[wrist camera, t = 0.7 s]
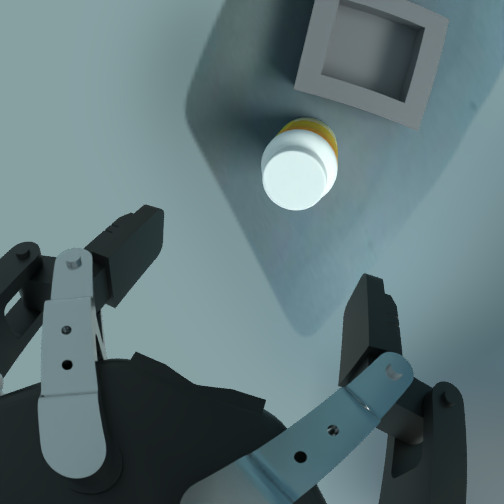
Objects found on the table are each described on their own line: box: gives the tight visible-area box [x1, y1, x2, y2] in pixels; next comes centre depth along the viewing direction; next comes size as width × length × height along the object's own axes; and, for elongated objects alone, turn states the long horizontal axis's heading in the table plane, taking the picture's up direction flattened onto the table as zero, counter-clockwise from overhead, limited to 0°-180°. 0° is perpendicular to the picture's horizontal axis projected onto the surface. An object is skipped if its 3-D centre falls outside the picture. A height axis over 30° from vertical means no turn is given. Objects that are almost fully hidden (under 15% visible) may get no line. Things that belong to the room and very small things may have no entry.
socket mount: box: [294, 0, 449, 131], centre depth 19 cm, size 10×10×4 cm
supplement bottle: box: [261, 117, 338, 210], centre depth 23 cm, size 5×5×10 cm
